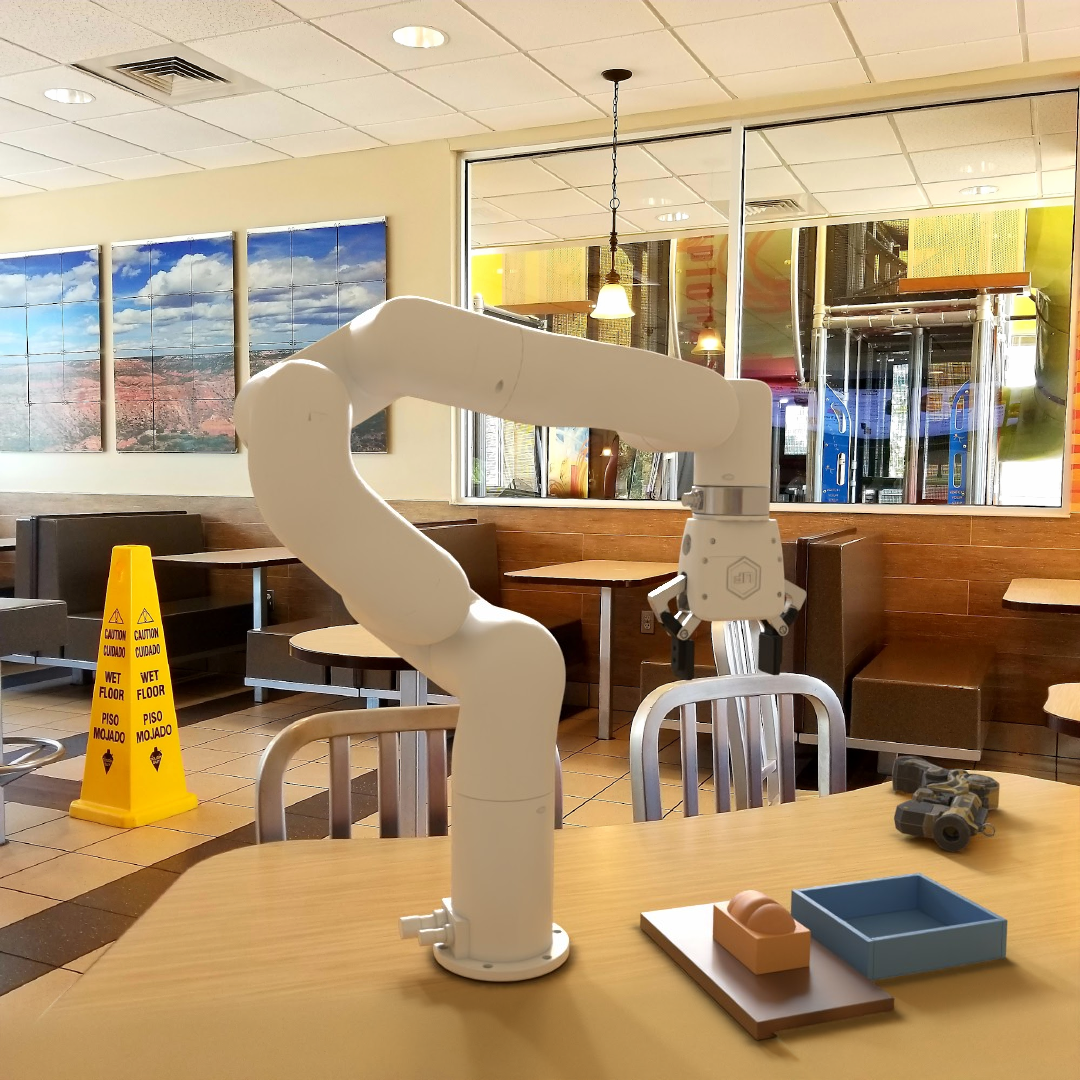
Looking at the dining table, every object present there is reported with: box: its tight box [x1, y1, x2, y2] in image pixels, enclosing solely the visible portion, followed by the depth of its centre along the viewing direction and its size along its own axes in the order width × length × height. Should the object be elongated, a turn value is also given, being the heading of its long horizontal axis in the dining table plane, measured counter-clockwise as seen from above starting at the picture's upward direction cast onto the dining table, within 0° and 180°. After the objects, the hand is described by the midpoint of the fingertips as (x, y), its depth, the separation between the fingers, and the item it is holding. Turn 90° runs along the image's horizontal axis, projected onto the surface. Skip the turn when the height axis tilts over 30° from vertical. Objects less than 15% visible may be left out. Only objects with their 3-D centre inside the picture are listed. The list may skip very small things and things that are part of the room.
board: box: [639, 900, 895, 1041], centre depth 97 cm, size 13×22×2 cm, turn 19°
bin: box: [790, 872, 1008, 982], centre depth 102 cm, size 15×12×4 cm
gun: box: [891, 755, 1000, 852], centre depth 140 cm, size 5×26×15 cm
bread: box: [713, 889, 811, 975], centre depth 97 cm, size 5×8×5 cm
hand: (726, 675), depth 108 cm, fingers open, 9 cm apart
